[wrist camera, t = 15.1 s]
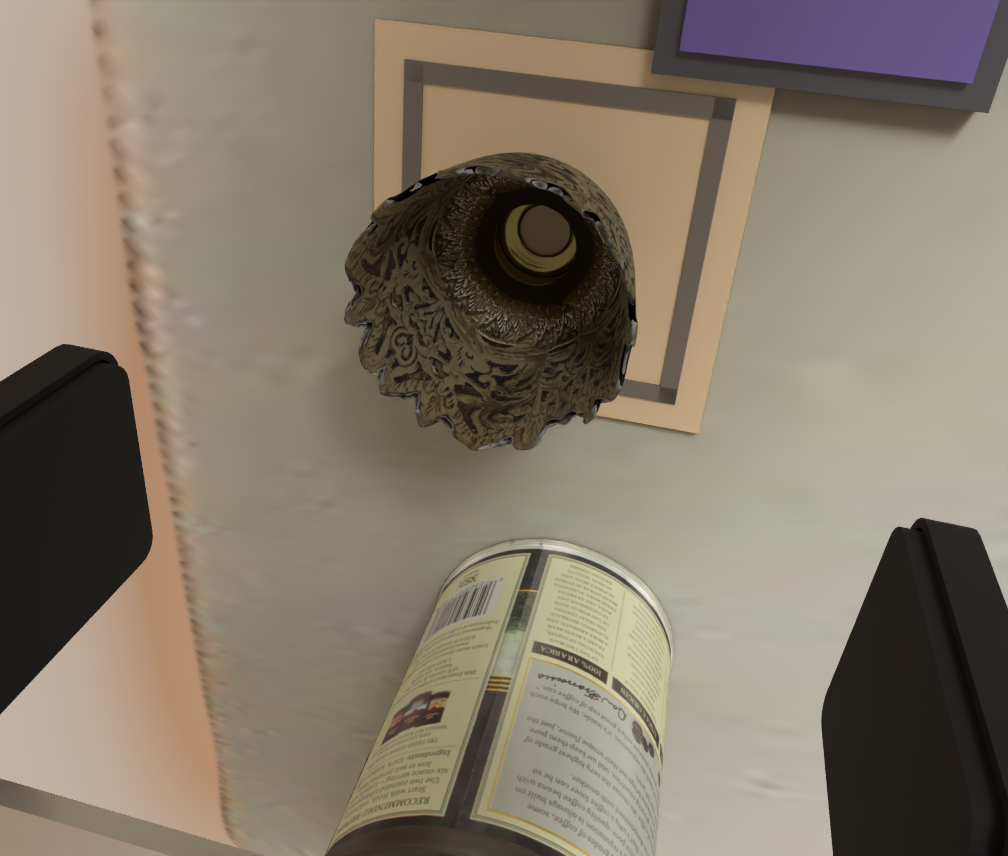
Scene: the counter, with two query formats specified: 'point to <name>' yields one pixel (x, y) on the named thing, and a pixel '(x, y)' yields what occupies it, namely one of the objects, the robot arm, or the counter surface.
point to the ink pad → (842, 47)
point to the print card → (593, 172)
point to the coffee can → (523, 716)
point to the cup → (495, 300)
